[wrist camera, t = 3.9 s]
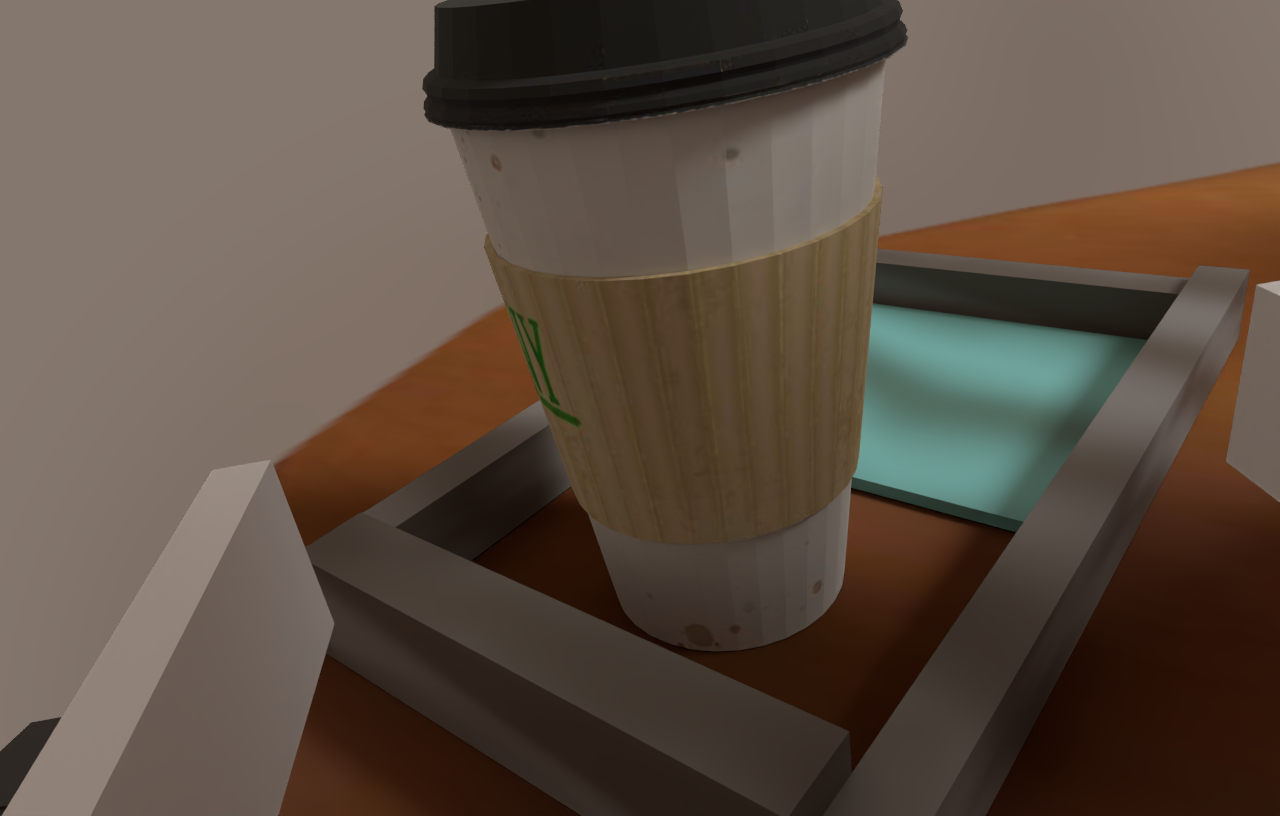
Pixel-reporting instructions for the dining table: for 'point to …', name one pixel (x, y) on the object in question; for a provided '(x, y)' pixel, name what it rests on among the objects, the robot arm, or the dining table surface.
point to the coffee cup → (686, 277)
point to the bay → (887, 466)
